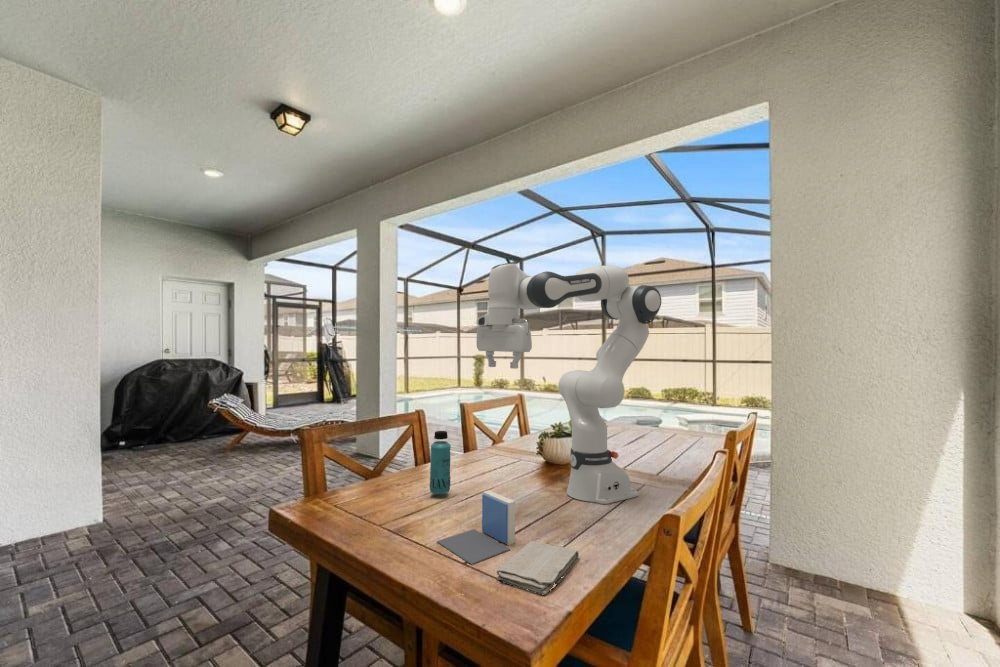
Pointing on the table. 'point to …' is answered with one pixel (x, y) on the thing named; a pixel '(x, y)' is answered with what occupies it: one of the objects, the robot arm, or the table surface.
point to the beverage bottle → (440, 464)
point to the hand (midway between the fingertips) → (502, 367)
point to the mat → (473, 546)
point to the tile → (498, 517)
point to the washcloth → (537, 566)
